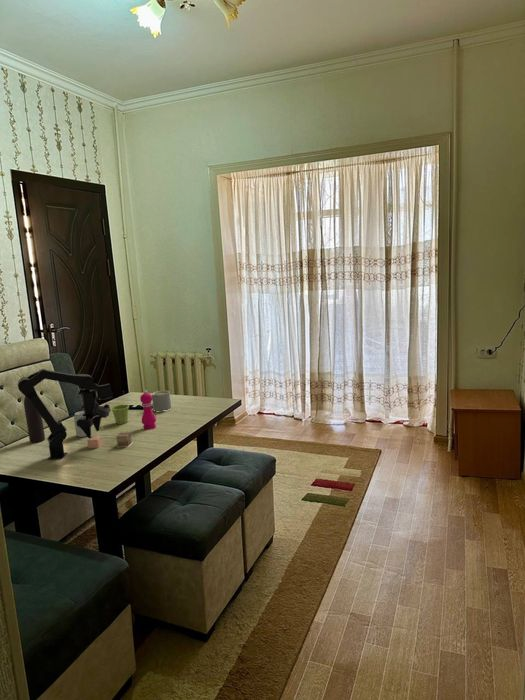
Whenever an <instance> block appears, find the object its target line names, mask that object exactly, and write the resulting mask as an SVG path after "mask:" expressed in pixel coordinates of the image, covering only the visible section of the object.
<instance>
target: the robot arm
mask: <svg viewBox="0 0 525 700" xmlns="http://www.w3.org/2000/svg"><path fill="white" fill-rule="evenodd" d="M44 380H49V381H55V382H62V383H67V384H73V385H75V386H77V387H80V388H79V389H78V390H77V392H76V394H77V395H78V396H79V395H81V398H82V405H81V409H83V411H84V414H83V417H81V418H80V419H79V420H78V421H77V422H76V423H77V426H79V427H80V428H81V429H82V430H83V431H84V433H85V434H86V435H87V436H86V438H88V439H89V438H91V437H92V433H91V428H92V427H94V429H95V431H96V432H99V431H100V427H101V422H102V419H103V418H104V419H106V418H107V417H109V416H110V412H111V411H112V410H111V407H110V404H107V403H106V404H104V405H100V404H99V402H98V401H97V399H98V400H99V401H102V400H108V399H113V398H114V393H113V390H112V386H111V384H110V383H106V384H101V385H98V384H97V383H95V379H94V378H93V377H92V376H91V375H90V374H85V373H77V374H74V373H73V374H71V373H66V372H61V371H55V370H48V369H45V368H40V369H39V370H38V371H36V372H33V373H32V374H30V375H28V376H26V377H21V378H20V379H18V381H17V384H16V385H17V388H18V391H19V392H20V393H21V394H23V395H24V397H25V396H26V397H27V398H28V399H29V400H30V401H31V402H32V404H33V405H34V406H35V408H36V409H37V411H38V412H39V413H40V415H41V416H42V420H43V421H44V423H45V424H46V425H47V426H48V429H49V432H50V434H49V436H47V438H46V440H47V442H48V450H49V455H50V456H49V457H47V460H61V459H63V458H65V456H67V455H68V452H65V449H64V448H65V447H64V440H65V439H67V435H68V432H67V427H66V426H65V425H64V424H63V423H62V420H61V419H59V420H58V421H57V420H56V419H55V417H54V416H53V415H52V413H51V412H50V411H49V409H48V408H47V406H46V405H45V403H44V402H43V400H42V399H41V398H40V396H39V395H38V393H37V391H36V389H35V386H37V385H39V383H41V382H43V381H44Z"/></svg>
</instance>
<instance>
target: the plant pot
mask: <svg viewBox="0 0 525 700" xmlns="http://www.w3.org/2000/svg"><path fill="white" fill-rule="evenodd" d="M129 408H130V404H118V405H114V406H112V407H110V410H111V411H112V413H113V416H114V421H115V424H116V423H117V424H116V425H123V424H122V423H124V424H126V423H128V422H129V421H128V419H129Z"/></svg>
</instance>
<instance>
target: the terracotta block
mask: <svg viewBox="0 0 525 700" xmlns="http://www.w3.org/2000/svg"><path fill="white" fill-rule="evenodd" d="M86 443H87V448H88V449H95V448H96V449H97V448H98V449H99V448H100V447H101V446H102V445H104V440H103V436H102V435H94V436H93V435H91V438H88V439H87V442H86Z"/></svg>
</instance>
